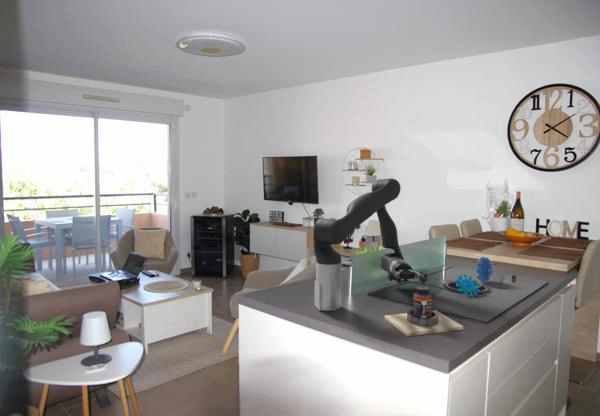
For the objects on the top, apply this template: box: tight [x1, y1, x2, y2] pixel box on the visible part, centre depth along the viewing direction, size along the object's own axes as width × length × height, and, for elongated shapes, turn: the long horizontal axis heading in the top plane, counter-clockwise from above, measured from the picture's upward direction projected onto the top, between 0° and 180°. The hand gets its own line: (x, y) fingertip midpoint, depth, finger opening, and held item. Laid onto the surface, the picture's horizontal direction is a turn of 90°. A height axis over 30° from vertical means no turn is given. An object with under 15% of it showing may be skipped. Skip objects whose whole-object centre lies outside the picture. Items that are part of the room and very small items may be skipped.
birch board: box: [383, 309, 464, 337], centre depth 143 cm, size 20×16×1 cm
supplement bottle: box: [412, 285, 433, 318], centre depth 142 cm, size 6×6×11 cm
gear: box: [455, 274, 482, 298], centre depth 176 cm, size 11×6×10 cm
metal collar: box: [406, 308, 439, 327], centre depth 143 cm, size 10×10×2 cm
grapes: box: [474, 256, 494, 284], centre depth 190 cm, size 12×7×12 cm, turn 129°
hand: (411, 280), depth 154 cm, fingers open, 8 cm apart
